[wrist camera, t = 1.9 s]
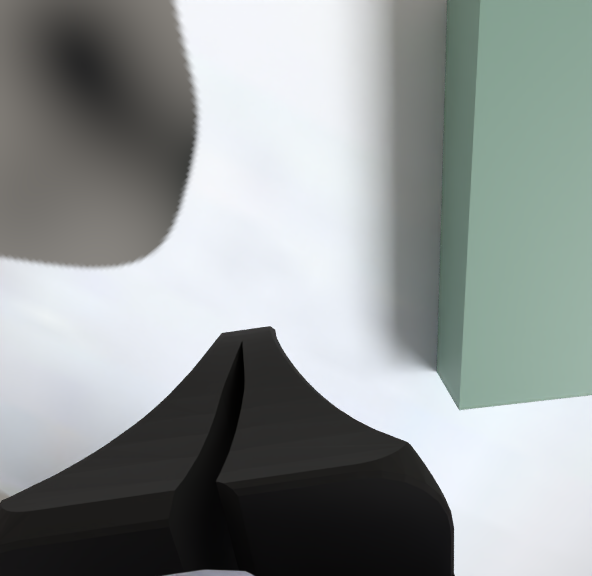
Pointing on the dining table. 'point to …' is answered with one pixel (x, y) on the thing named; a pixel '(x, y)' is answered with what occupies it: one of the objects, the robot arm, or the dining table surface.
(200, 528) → the robot arm
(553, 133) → the green book
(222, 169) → the dining table surface
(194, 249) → the dining table surface
